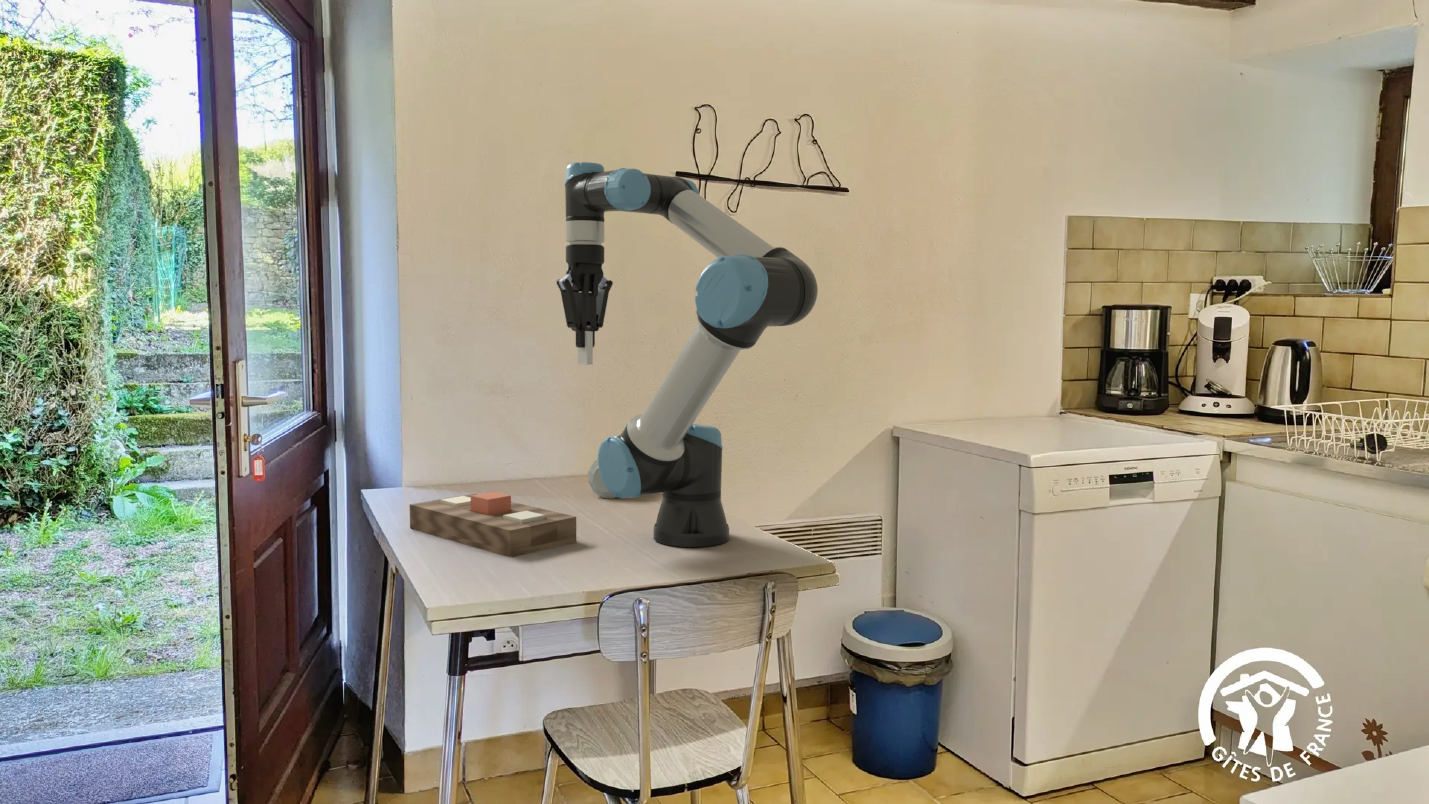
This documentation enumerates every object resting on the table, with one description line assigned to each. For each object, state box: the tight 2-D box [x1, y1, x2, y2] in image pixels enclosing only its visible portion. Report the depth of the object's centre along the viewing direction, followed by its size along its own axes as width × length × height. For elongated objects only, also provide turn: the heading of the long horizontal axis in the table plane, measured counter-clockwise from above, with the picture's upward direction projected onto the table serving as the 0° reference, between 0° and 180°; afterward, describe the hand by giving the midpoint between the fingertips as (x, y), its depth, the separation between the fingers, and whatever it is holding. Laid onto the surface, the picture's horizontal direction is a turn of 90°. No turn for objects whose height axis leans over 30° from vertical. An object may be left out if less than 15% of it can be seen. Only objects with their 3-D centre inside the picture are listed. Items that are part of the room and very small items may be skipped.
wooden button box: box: [409, 493, 577, 558], centre depth 199 cm, size 33×16×5 cm, turn 49°
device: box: [587, 459, 617, 499], centre depth 250 cm, size 31×10×10 cm, turn 168°
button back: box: [440, 495, 471, 507], centre depth 206 cm, size 6×6×4 cm
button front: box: [503, 511, 545, 524], centre depth 192 cm, size 6×6×4 cm
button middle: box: [471, 491, 512, 515], centre depth 199 cm, size 6×6×4 cm
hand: (585, 364), depth 198 cm, fingers closed
